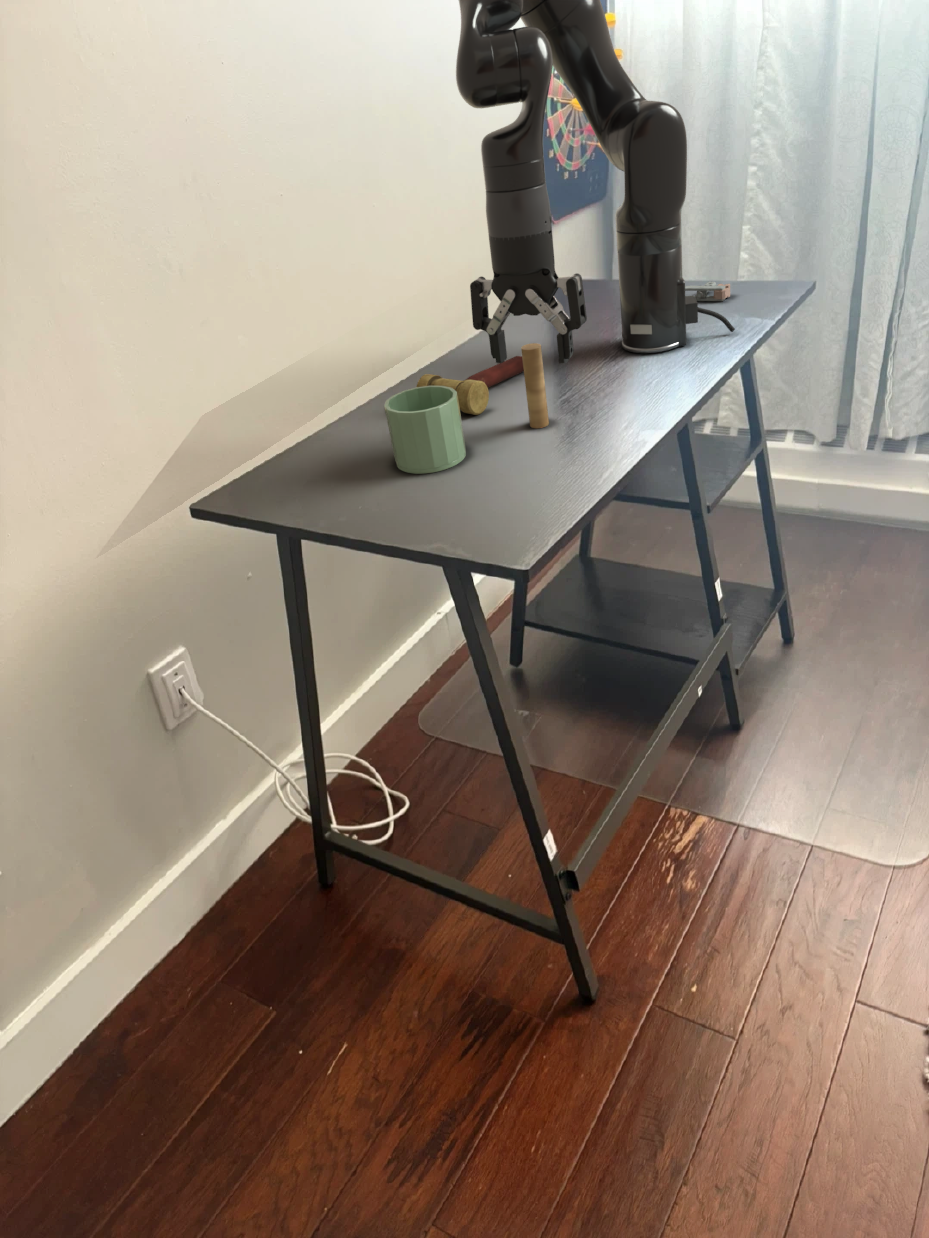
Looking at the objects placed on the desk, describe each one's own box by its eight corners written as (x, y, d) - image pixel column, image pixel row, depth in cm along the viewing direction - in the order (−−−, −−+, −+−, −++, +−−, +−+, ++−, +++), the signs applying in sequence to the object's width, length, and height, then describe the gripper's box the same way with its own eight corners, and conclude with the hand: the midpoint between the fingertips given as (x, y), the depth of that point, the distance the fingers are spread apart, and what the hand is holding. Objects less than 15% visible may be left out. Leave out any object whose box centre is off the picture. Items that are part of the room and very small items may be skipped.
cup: (467, 440, 126) (458, 381, 121) (464, 469, 118) (454, 407, 114) (400, 448, 127) (388, 390, 123) (392, 477, 119) (380, 416, 115)
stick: (548, 420, 128) (540, 342, 122) (549, 427, 125) (540, 348, 120) (530, 422, 128) (521, 344, 122) (530, 429, 126) (521, 351, 120)
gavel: (504, 341, 148) (557, 346, 142) (506, 370, 151) (558, 376, 145) (412, 379, 135) (467, 386, 129) (417, 410, 137) (470, 419, 132)
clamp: (736, 278, 163) (716, 295, 156) (736, 291, 164) (716, 309, 157) (652, 278, 170) (630, 295, 164) (652, 291, 172) (630, 308, 165)
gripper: (452, 238, 113) (470, 371, 122) (566, 231, 108) (577, 372, 116) (476, 223, 119) (492, 352, 128) (587, 216, 113) (595, 352, 122)
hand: (532, 361), depth 122 cm, fingers open, 8 cm apart
